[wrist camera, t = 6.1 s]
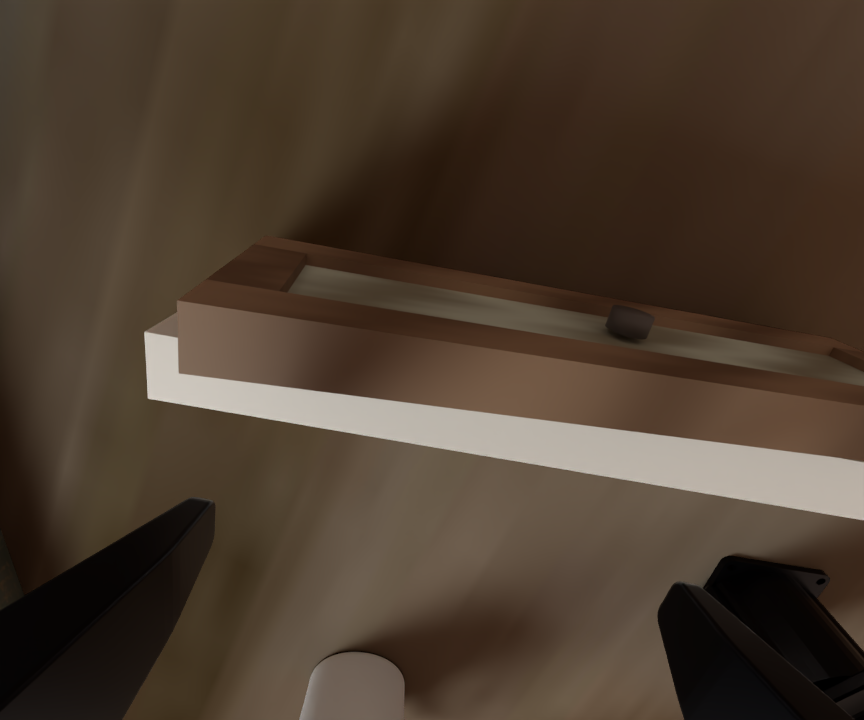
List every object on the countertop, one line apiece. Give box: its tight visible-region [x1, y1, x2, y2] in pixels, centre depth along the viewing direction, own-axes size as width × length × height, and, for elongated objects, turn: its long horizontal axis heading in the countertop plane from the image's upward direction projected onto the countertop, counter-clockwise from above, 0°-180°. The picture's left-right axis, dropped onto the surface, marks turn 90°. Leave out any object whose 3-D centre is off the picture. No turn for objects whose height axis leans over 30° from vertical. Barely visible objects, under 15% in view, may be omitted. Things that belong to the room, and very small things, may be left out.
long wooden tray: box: [145, 313, 864, 520], centre depth 18 cm, size 26×6×8 cm, turn 78°
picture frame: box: [177, 235, 864, 461], centre depth 14 cm, size 22×2×7 cm, turn 79°
